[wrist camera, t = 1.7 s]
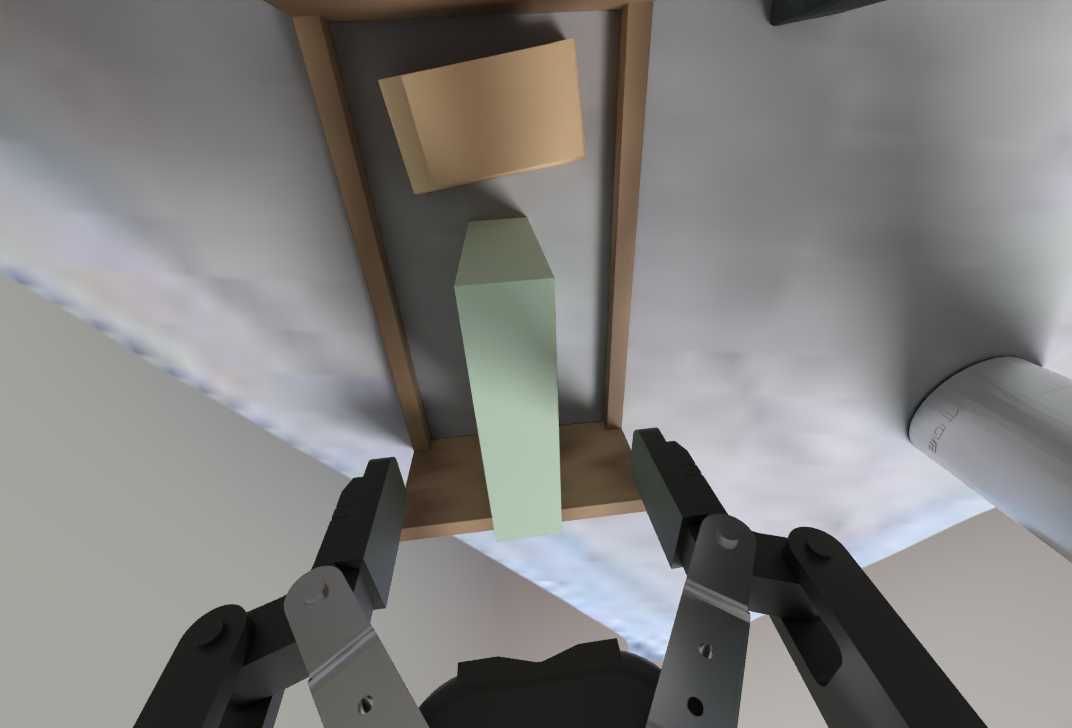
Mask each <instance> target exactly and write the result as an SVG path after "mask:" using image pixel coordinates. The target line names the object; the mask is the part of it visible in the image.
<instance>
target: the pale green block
mask: <svg viewBox="0 0 1072 728" xmlns="http://www.w3.org/2000/svg"><path fill="white" fill-rule="evenodd" d="M454 290H455V296H456V302H457V308H458V314H459V320H460V326H461V332H462V338H463V344H464V350H465V356H466V362H467V368H468V374H469V380H470V386H471V392H472V398H473V405H474V411H475V417H476V423H477V429H478V435H479V441H480V447H481V453H482V459H483V465H484V471H485V477H486V483H487V489H488V495H489V501H490V507H491V513H492V519H493V525H494V532H495V538H496V542H497V541H505V540H513V539H521V538H529V537H537V536H545V535H553V534H561V533H562V517H561V484H560V450H559V417H558V383H557V350H556V316H555V283H554V276H553V274H552V272H551V269H550V267H549V265H548V263H547V260H546V258H545V256H544V254H543V252H542V249H541V247H540V245H539V243H538V240H537V238H536V236H535V234H534V232H533V229H532V227H531V225H530V223H529V220H528V218H527V217H520V218H507V219H493V220H480V221H469V222H468V227H467V231H466V235H465V240H464V244H463V249H462V253H461V257H460V262H459V266H458V271H457V275H456V280H455V284H454Z"/></svg>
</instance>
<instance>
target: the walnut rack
mask: <svg viewBox="0 0 1072 728" xmlns="http://www.w3.org/2000/svg"><path fill="white" fill-rule="evenodd" d="M264 1H266V2H267V3H269V4H271V5H272V6H274V7H276V8H278V9H279V10H281V11H283V12H284V13H286V14H288V15H290V16H291V17H292V20H293V23H294V27H295V30H296V34H297V37H298V41H299V44H300V48H301V52H302V55H303V59H304V62H305V66H306V69H307V73H308V76H309V80H310V83H311V87H312V91H313V94H314V98H315V101H316V105H317V108H318V112H319V115H320V119H321V123H322V126H323V130H324V133H325V137H326V140H327V144H328V147H329V151H330V155H331V158H332V162H333V165H334V169H335V172H336V176H337V179H338V183H339V186H340V190H341V194H342V197H343V201H344V204H345V208H346V211H347V215H348V218H349V222H350V226H351V229H352V233H353V236H354V240H355V243H356V247H357V250H358V254H359V258H360V261H361V265H362V268H363V272H364V275H365V279H366V282H367V286H368V290H369V293H370V297H371V300H372V304H373V307H374V311H375V314H376V318H377V321H378V325H379V329H380V332H381V336H382V339H383V343H384V346H385V350H386V353H387V357H388V361H389V364H390V368H391V371H392V375H393V378H394V382H395V385H396V389H397V393H398V396H399V400H400V403H401V407H402V410H403V414H404V417H405V421H406V424H407V428H408V432H409V435H410V439H411V442H412V446H413V449H414V454H413V458H412V462H411V467H410V471H409V475H408V479H407V484H406V488H405V489H406V495H407V505H406V511H405V516H404V521H403V526H402V531H401V536H400V541H407V540H416V539H424V538H432V537H439V536H448V535H456V534H464V533H473V532H481V531H489V530H494V525H493V519H492V513H491V507H490V501H489V495H488V489H487V483H486V477H485V471H484V465H483V459H482V453H481V447H480V441H479V435H469V436H460V437H451V438H441V439H432V440H431V437H430V433H429V429H428V425H427V421H426V416H425V412H424V408H423V404H422V400H421V396H420V392H419V388H418V384H417V380H416V376H415V372H414V368H413V364H412V360H411V356H410V352H409V348H408V344H407V339H406V335H405V331H404V327H403V323H402V319H401V315H400V311H399V307H398V303H397V299H396V295H395V291H394V287H393V283H392V279H391V275H390V271H389V267H388V263H387V258H386V254H385V250H384V246H383V242H382V238H381V234H380V230H379V226H378V222H377V218H376V214H375V210H374V206H373V202H372V198H371V194H370V190H369V186H368V181H367V177H366V173H365V169H364V165H363V161H362V157H361V153H360V149H359V145H358V141H357V137H356V133H355V129H354V125H353V121H352V117H351V113H350V109H349V105H348V100H347V96H346V92H345V88H344V84H343V80H342V76H341V72H340V68H339V64H338V60H337V56H336V52H335V48H334V44H333V40H332V36H331V32H330V28H329V23H328V22H340V21H363V20H386V19H409V18H433V17H456V16H479V15H502V14H525V13H549V12H572V11H595V10H618V9H621V30H620V53H619V76H618V99H617V122H616V144H615V167H614V190H613V213H612V236H611V259H610V282H609V305H608V327H607V350H606V373H605V396H604V419H603V421H599V422H589V423H580V424H571V425H562V426H559V450H560V484H561V517H562V521H570V520H578V519H586V518H594V517H602V516H610V515H619V514H627V513H635V512H643V511H646V508H645V506H644V504H643V501H642V499H641V497H640V494H639V492H638V490H637V487H636V485H635V483H634V480H633V477H632V473H631V466H630V462H631V452H632V451H631V449H630V447H629V444H628V442H627V440H626V438H625V435H624V433H623V431H622V429H621V428H622V414H623V401H624V387H625V374H626V360H627V347H628V333H629V320H630V307H631V293H632V280H633V266H634V253H635V239H636V226H637V212H638V199H639V185H640V172H641V158H642V145H643V131H644V118H645V105H646V91H647V78H648V64H649V51H650V37H651V24H652V10H653V1H655V0H264Z"/></svg>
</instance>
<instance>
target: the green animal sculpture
mask: <svg viewBox="0 0 1072 728" xmlns="http://www.w3.org/2000/svg"><path fill="white" fill-rule="evenodd" d="M882 1H885V0H774V1H773V6H772V12H771V21H770V24H771V25H773V26H778V25H783V24H788V23H792V22H797V21H802V20H807V19H812V18H817V17H822V16H827V15H832V14H837V13H842V12H846V11H849V10H853V9H856V8H860V7H863V6H867V5H870V4H874V3H878V2H882Z"/></svg>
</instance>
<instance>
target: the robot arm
mask: <svg viewBox="0 0 1072 728" xmlns="http://www.w3.org/2000/svg"><path fill="white" fill-rule="evenodd" d="M909 436H910V441H911V442H912V444H913V445H914V446H915V447H916V448H918V449H919V450H920V451H922V452H923V453H924V454H926V455H927V456H928V457H930V458H931V459H932V460H934V461H935V462H936V463H938V464H939V465H940V466H942V467H943V468H944V469H946V470H947V471H948V472H950V473H951V474H952V475H954V476H955V477H957V478H958V479H959V480H961V481H962V482H963V483H964V484H966V485H967V486H968V487H970V488H971V489H972V490H974V491H975V492H976V493H978V494H979V495H980V496H982V497H983V498H984V499H986V500H987V501H989V502H990V503H991V504H993V505H994V506H995V507H997V508H998V509H999V510H1001V511H1002V512H1003V513H1005V514H1006V515H1007V516H1009V517H1010V518H1012V519H1013V520H1014V521H1016V522H1017V523H1018V524H1020V525H1021V526H1022V527H1024V528H1025V529H1027V530H1028V531H1029V532H1031V533H1032V534H1033V535H1035V536H1036V537H1037V538H1039V539H1040V540H1041V541H1043V542H1044V543H1046V544H1047V545H1048V546H1049V547H1051V548H1052V549H1054V550H1055V551H1056V552H1058V553H1059V554H1061V555H1062V556H1063V557H1064V558H1066V559H1067V560H1068V561H1070V562H1071V563H1072V380H1071V379H1069V378H1066V377H1064V376H1062V375H1059V374H1057V373H1054V372H1052V371H1050V370H1047V369H1045V368H1042V367H1040V366H1038V365H1035V364H1033V363H1031V362H1028V361H1026V360H1024V359H1021V358H1018V357H1010V356H1008V357H998V358H993V359H990V360H986V361H982V362H980V363H977V364H975V365H973V366H970V367H968V368H966V369H964V370H963V371H961V372H959V373H957V374H955V375H954V376H952V377H951V378H950V379H948V380H947V381H945V382H944V383H942V384H941V385H940V386H939V387H938V388H937V389H936V390H934V391H933V392H932V393H931V394H930V395H929V396H928V397H927V398H926V400H925V401H924V402H923V403H922V404H921V406H920V407H919V409H918V410H917V412H916V413H915V415H914V417H913V419H912V422H911V424H910V430H909ZM630 466H631V473H632V477H633V480H634V483H635V485H636V487H637V490H638V492H639V494H640V497H641V499H642V501H643V504H644V506H645V508H646V511H647V513H648V515H649V518H650V520H651V522H652V525H653V527H654V529H655V532H656V534H657V536H658V539H659V541H660V543H661V546H662V548H663V550H664V553H665V555H666V557H667V560H668V562H669V564H670V567H671V569H673V568H680V567H683V568H684V570H685V572H686V575H687V578H686V582H685V585H684V588H683V592H682V596H681V599H680V603H679V607H678V610H677V614H676V618H675V621H674V625H673V629H672V632H671V636H670V640H669V643H668V647H667V651H666V654H665V658H664V662H663V665H662V669H660V668H659V667H658V666H656V665H655V664H654V663H652V662H650V661H648V660H647V659H645V658H643V657H640V656H638V655H636V654H633V653H629V652H626V651H620V649H619V645H618V642H617V638H614V639H609V640H602V641H595V642H589V643H582V644H578V645H576V646H574V647H571V648H569V649H567V650H565V651H563V652H561V653H559V654H557V655H555V656H553V657H551V658H549V659H547V660H545V661H542V662H531V661H524V660H518V659H511V658H504V657H492V658H485V659H479V660H473V661H466V662H459V663H458V674H457V676H456V677H454V678H452V679H450V680H449V681H447V682H446V683H444V684H443V685H441V686H440V687H439V688H437V689H436V690H435V691H434V692H433V693H432V694H431V695H430V696H429V697H428V698H427V699H426V700H425V701H424V702H423V703H422V704H421V706H420V707H419V708H418V706H417V705H416V703H415V701H414V699H413V698H412V696H411V694H410V692H409V690H408V689H407V687H406V685H405V683H404V682H403V680H402V678H401V676H400V674H399V673H398V671H397V669H396V667H395V665H394V664H393V662H392V660H391V658H390V657H389V655H388V653H387V651H386V649H385V648H384V646H383V644H382V642H381V640H380V639H379V637H378V635H377V633H376V632H375V630H374V628H373V627H372V626H371V624H370V621H371V616H372V612H373V610H375V609H383V608H386V605H387V600H388V595H389V590H390V585H391V580H392V575H393V570H394V565H395V560H396V556H397V550H398V545H399V541H400V536H401V531H402V526H403V521H404V516H405V511H406V505H407V495H406V489H405V485H404V482H403V479H402V476H401V473H400V470H399V466H398V463H397V460H396V458H395V457H389V458H380V459H371V460H370V461H369V462H368V465H367V467H366V470H365V473H364V476H363V477H357V478H353V479H352V480H351V482H350V483H349V484H348V485H347V486H346V487H345V489H344V490H343V491H342V493H341V495H340V498H339V501H338V503H337V506H336V507H337V508H336V509H335V511H334V514H333V516H332V521H331V522H330V524H329V526H328V529H327V531H326V534H325V536H324V539H323V542H322V544H321V547H320V549H319V552H318V555H317V557H316V560H315V562H314V565H313V567H312V569H311V570H310V571H309V572H307V573H306V574H304V575H303V576H301V577H300V578H299V579H298V580H297V581H296V582H295V583H294V584H293V585H292V587H291V588H290V590H289V591H288V593H287V594H286V595H285V596H283V597H281V598H279V599H277V600H274V601H272V602H270V603H267V604H265V605H263V606H260V607H258V608H256V609H253V610H251V611H249V612H246V611H245V610H244V609H243V608H242V607H241V606H239V605H234V604H230V605H224V606H220V607H218V608H215V609H213V610H211V611H210V612H208V613H206V614H205V615H203V616H202V617H201V618H199V619H198V620H197V621H196V622H195V623H194V624H193V625H192V626H191V627H190V628H189V629H188V630H187V631H186V632H185V634H184V635H183V636H182V638H181V640H180V641H179V643H178V645H177V647H176V649H175V651H174V652H173V654H172V656H171V658H170V660H169V662H168V663H167V665H166V667H165V669H164V671H163V673H162V675H161V677H160V678H159V680H158V682H157V684H156V686H155V688H154V689H153V691H152V693H151V695H150V697H149V699H148V701H147V702H146V704H145V706H144V708H143V710H142V712H141V714H140V715H139V717H138V719H137V721H136V723H135V725H134V727H133V728H273V727H274V724H275V720H276V717H277V713H278V710H279V707H280V704H281V701H282V697H283V694H284V690H285V688H288V687H290V686H291V685H293V684H296V683H298V682H300V681H301V680H304V679H306V678H307V677H310V679H309V681H308V684H309V688H310V691H311V694H312V697H313V699H314V702H315V705H316V707H317V710H318V713H319V715H320V718H321V721H322V723H323V726H324V728H737V725H738V716H739V708H740V700H741V692H742V684H743V676H744V668H745V660H746V652H747V644H748V636H749V628H750V613H749V612H748V611H752V612H757V613H762V614H767V615H769V616H770V618H771V620H772V622H773V623H774V625H775V627H776V629H777V631H778V633H779V635H780V636H781V639H782V640H783V642H784V644H785V646H786V648H787V650H788V652H789V654H790V656H791V657H792V659H793V661H794V663H795V665H796V666H797V669H798V671H799V673H800V674H801V676H802V678H803V680H804V682H805V684H806V686H807V688H808V690H809V691H810V693H811V695H812V697H813V699H814V701H815V703H816V705H817V706H818V708H819V710H820V712H821V714H822V716H823V718H824V720H825V722H826V724H827V725H828V727H829V728H988V727H987V726H986V725H985V723H984V722H983V721H982V720H981V719H980V717H979V716H978V715H977V713H976V712H975V711H974V710H973V708H972V707H971V706H970V705H969V704H968V702H967V701H966V700H965V699H964V697H963V696H962V695H961V693H960V692H959V691H958V689H957V688H956V687H955V686H954V685H953V683H952V682H951V681H950V679H949V678H948V677H947V676H946V674H945V673H944V672H943V671H942V669H941V668H940V667H939V666H938V664H937V663H936V662H935V661H934V659H933V658H932V657H931V656H930V654H929V653H928V652H927V650H926V649H925V648H924V647H923V645H922V644H921V643H920V642H919V640H918V639H917V638H916V637H915V635H914V634H913V633H912V632H911V630H910V629H909V628H908V627H907V625H906V624H905V623H904V622H903V620H902V619H901V618H900V617H899V616H898V614H897V613H896V612H895V611H894V609H893V608H892V606H891V605H890V604H889V603H888V601H887V600H886V599H885V598H884V597H883V595H882V594H881V593H880V591H879V590H878V589H877V588H876V586H875V585H874V584H873V583H872V581H871V580H870V579H869V578H868V576H867V575H866V574H865V573H864V571H863V570H862V569H861V567H860V566H859V565H858V564H857V562H856V561H855V560H854V559H853V557H852V556H851V555H850V554H849V552H848V551H847V550H846V549H845V547H844V546H843V545H842V544H841V543H840V542H839V541H838V540H836V539H835V538H834V537H832V536H831V535H829V534H827V533H826V532H823V531H821V530H818V529H815V528H811V527H798V528H795V529H794V530H792V531H791V532H790V534H789V536H788V538H786V537H779V536H773V535H767V534H761V533H756V532H753V531H751V530H750V529H749V527H748V526H747V525H745V524H744V523H743V522H742V521H740V520H738V519H737V518H735V517H732V516H729V515H728V514H727V512H726V511H725V509H724V508H723V506H722V504H721V503H720V501H719V500H718V498H717V497H716V495H715V493H714V492H713V490H712V489H711V487H710V486H709V484H708V482H707V481H706V479H705V478H704V476H702V474H701V471H700V470H699V468H698V467H697V465H695V462H694V460H693V459H692V457H691V456H690V454H689V453H688V451H687V450H686V449H684V448H683V447H682V446H681V445H679V444H678V443H677V442H675V441H669V442H666V440H665V439H664V437H663V435H662V434H661V432H660V430H659V429H658V428H648V429H639V430H635V431H634V433H633V442H632V452H631V462H630Z"/></svg>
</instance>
